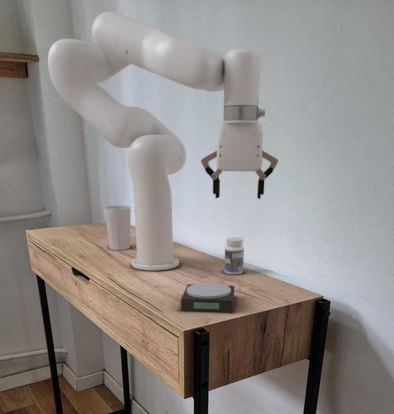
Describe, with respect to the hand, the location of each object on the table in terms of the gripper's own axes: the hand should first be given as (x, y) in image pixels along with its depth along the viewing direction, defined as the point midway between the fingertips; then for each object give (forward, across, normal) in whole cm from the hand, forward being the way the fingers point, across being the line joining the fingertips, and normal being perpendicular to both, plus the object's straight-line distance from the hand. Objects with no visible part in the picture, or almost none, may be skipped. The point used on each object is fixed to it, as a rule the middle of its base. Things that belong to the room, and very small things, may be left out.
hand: (238, 197), depth 112 cm
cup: (+18, +37, -27) cm, 49 cm away
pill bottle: (+18, +1, -2) cm, 19 cm away
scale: (+18, +4, +23) cm, 30 cm away
